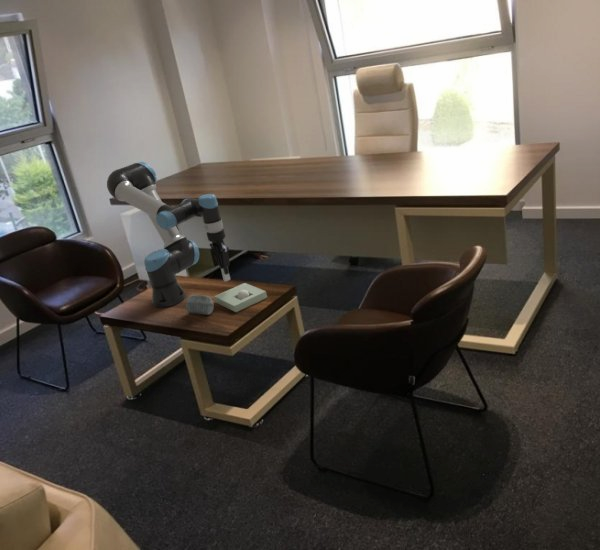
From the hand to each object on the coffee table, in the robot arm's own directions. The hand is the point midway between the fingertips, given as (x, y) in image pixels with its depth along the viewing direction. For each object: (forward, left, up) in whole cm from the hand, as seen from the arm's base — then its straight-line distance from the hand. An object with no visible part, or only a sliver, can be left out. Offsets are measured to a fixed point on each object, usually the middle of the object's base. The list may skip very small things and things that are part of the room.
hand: (227, 280), depth 263 cm
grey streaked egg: (+4, -17, -8) cm, 19 cm away
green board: (+9, 0, -8) cm, 12 cm away
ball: (+11, 0, -5) cm, 12 cm away
